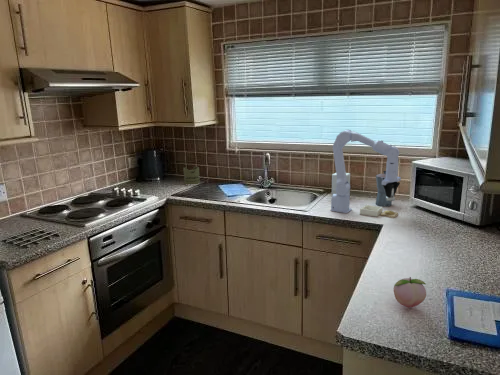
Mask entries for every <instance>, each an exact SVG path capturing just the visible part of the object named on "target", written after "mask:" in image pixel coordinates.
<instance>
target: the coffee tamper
mask: <svg viewBox="0 0 500 375" xmlns="http://www.w3.org/2000/svg"><path fill="white" fill-rule="evenodd" d="M386 200H387V201H392V202H394V201H395V200H396V196H394V187H393V189H392V193H391V197H386Z"/></svg>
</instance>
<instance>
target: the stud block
mask: <svg viewBox="0 0 500 375" xmlns="http://www.w3.org/2000/svg"><path fill="white" fill-rule="evenodd" d="M398 215H399V212H397V211H393V210H383V211H382V213H381V214H380V215H379V216H380V217H386V218H392V219H395V218H396V217H397V216H398Z"/></svg>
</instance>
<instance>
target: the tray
mask: <svg viewBox="0 0 500 375" xmlns="http://www.w3.org/2000/svg"><path fill="white" fill-rule="evenodd" d="M383 208H384V207H382V206H378V205H370V204H365V205H364V206H362V207H361V208H359V215H362V216H368V217H374V218H378V217H379V216H380V215H381V213H382V212H383Z"/></svg>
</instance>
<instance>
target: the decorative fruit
mask: <svg viewBox="0 0 500 375" xmlns="http://www.w3.org/2000/svg"><path fill="white" fill-rule="evenodd" d="M424 285H427V283H426V282H425V281H423V280H421V279H419V278H412V277H411V276H409V278H408V277H406V278H400V279H398V280H397V282H395V283H394V285H393V295H394V298H395V300H396V302H398V303H399V304H400V305H401V306H403V307H406V308H407V309H408V308H414V307H417V306H419V305H420V304H422V303H424V300H425V299H426V298H427V290H426V287H425V286H424Z"/></svg>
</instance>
